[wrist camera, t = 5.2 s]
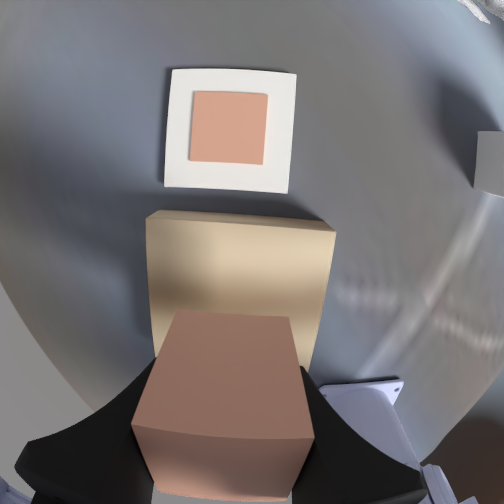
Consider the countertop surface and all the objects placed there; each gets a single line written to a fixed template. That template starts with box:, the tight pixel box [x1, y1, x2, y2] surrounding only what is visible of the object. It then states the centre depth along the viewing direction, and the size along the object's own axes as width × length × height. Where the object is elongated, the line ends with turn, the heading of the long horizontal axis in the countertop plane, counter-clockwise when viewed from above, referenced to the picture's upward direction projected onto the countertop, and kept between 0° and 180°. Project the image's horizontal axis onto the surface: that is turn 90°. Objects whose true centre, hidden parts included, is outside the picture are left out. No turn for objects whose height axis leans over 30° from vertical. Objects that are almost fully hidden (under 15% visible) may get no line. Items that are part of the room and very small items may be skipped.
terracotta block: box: [131, 309, 315, 501], centre depth 9 cm, size 4×4×6 cm
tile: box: [164, 69, 296, 194], centre depth 15 cm, size 7×7×1 cm
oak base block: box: [146, 210, 336, 373], centre depth 18 cm, size 10×10×3 cm
